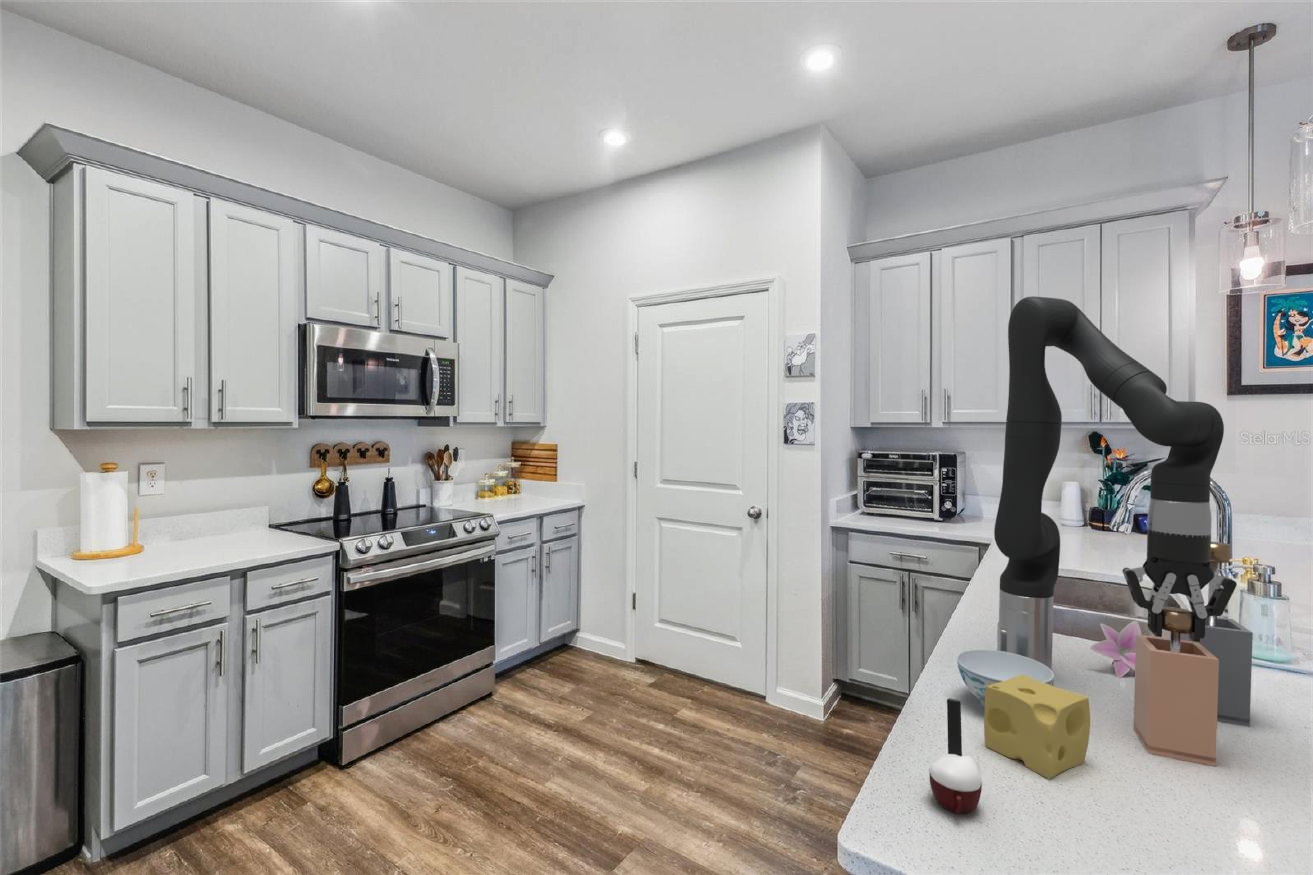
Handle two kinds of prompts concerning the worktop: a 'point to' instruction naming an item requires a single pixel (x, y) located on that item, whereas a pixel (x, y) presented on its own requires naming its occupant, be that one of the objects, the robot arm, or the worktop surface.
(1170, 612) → the bronze knob plunger
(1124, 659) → the lily
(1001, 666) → the chinaware
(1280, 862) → the worktop surface
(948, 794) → the rounded three-tone fixture
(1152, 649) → the press terracotta
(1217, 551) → the tall bronze-capped rod
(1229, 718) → the grey square holder
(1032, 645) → the robot arm
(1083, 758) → the cheese
